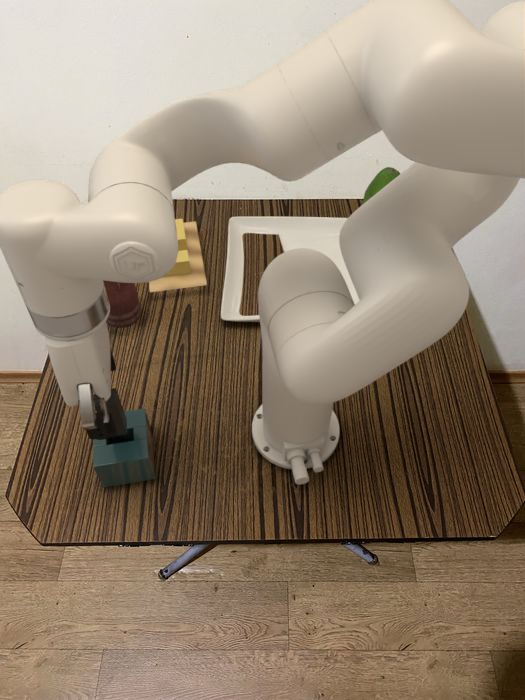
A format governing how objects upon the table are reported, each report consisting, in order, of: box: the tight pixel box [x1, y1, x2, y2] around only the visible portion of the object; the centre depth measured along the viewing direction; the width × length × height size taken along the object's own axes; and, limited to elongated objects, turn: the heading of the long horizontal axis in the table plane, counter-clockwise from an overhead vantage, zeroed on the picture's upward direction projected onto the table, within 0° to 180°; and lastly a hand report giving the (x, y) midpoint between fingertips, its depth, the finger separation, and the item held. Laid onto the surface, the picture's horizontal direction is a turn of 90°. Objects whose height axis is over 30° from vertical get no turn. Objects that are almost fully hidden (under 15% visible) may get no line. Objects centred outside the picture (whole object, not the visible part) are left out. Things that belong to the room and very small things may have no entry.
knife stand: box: [92, 407, 156, 489], centre depth 78 cm, size 8×7×6 cm
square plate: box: [220, 215, 360, 323], centre depth 102 cm, size 27×27×4 cm
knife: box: [93, 387, 131, 444], centre depth 75 cm, size 2×3×15 cm
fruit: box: [362, 166, 401, 205], centre depth 109 cm, size 8×8×12 cm
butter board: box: [148, 221, 208, 293], centre depth 106 cm, size 18×10×2 cm, turn 10°
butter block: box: [175, 218, 187, 251], centre depth 107 cm, size 6×5×3 cm
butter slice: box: [163, 250, 191, 277], centre depth 102 cm, size 3×5×3 cm, turn 100°
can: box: [103, 280, 142, 329], centre depth 92 cm, size 6×6×14 cm
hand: (103, 401), depth 70 cm, fingers open, 9 cm apart
